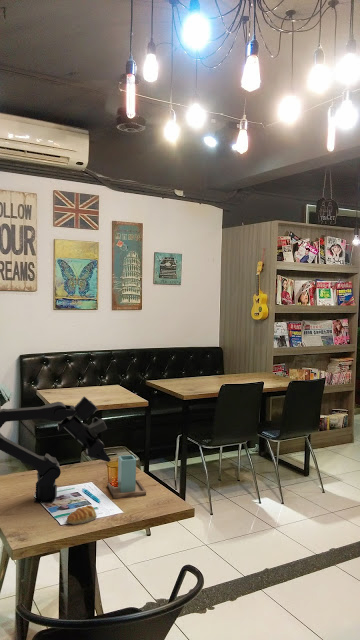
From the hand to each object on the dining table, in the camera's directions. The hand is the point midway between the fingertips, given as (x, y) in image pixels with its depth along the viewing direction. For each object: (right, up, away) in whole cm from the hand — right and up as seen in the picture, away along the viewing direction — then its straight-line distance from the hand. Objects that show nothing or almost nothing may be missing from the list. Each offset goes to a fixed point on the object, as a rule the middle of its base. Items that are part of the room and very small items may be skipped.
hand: (107, 456), depth 180 cm
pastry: (-5, -15, -21) cm, 26 cm away
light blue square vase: (+7, -13, +3) cm, 15 cm away
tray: (+7, -14, +3) cm, 16 cm away
